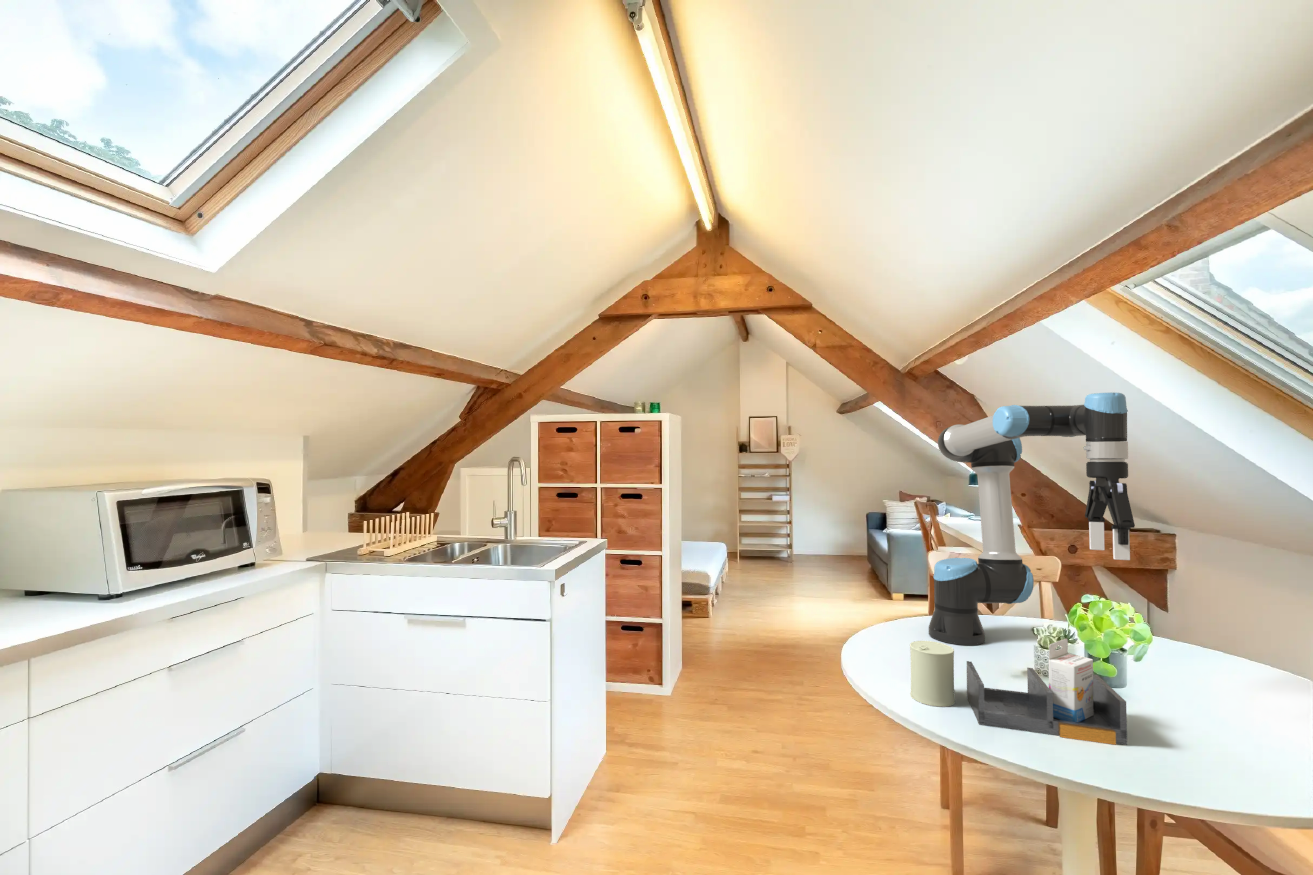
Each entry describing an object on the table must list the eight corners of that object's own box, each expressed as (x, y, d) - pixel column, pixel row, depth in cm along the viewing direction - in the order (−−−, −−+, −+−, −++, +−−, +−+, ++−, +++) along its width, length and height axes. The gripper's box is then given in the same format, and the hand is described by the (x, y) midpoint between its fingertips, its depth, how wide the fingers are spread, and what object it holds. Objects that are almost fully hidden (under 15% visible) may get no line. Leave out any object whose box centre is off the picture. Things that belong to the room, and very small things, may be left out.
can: (901, 693, 133) (900, 641, 134) (930, 687, 137) (929, 636, 137) (934, 709, 125) (933, 654, 125) (964, 702, 128) (963, 648, 129)
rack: (967, 697, 131) (966, 660, 131) (1098, 713, 123) (1097, 674, 123) (979, 725, 117) (979, 685, 118) (1128, 746, 109) (1127, 702, 109)
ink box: (1076, 725, 115) (1074, 651, 115) (1048, 716, 119) (1047, 644, 120) (1095, 715, 119) (1093, 643, 120) (1067, 706, 124) (1066, 637, 124)
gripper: (1068, 460, 144) (1070, 545, 143) (1109, 461, 121) (1111, 563, 120) (1104, 460, 142) (1106, 546, 141) (1153, 461, 118) (1155, 565, 117)
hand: (1108, 554), depth 130 cm, fingers open, 13 cm apart
